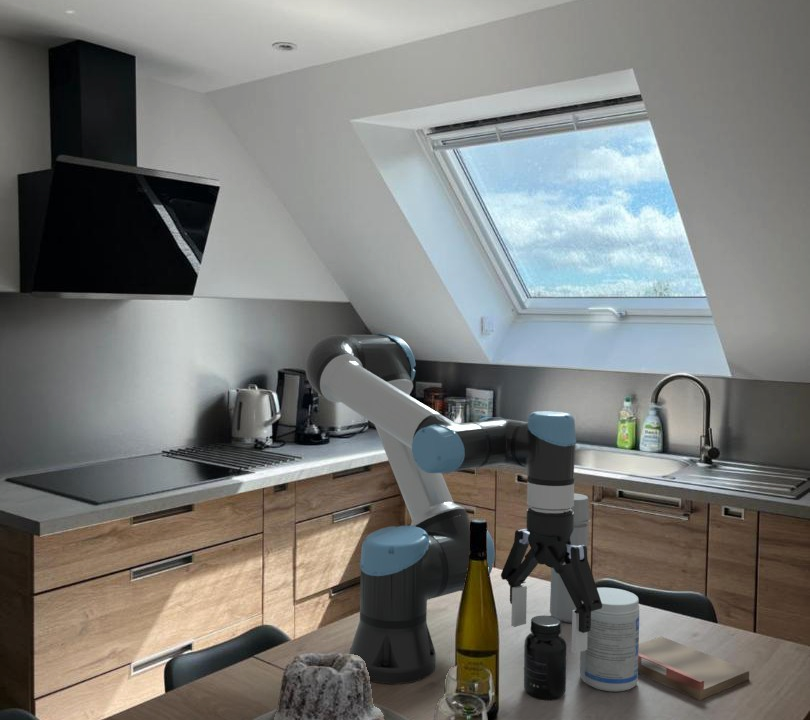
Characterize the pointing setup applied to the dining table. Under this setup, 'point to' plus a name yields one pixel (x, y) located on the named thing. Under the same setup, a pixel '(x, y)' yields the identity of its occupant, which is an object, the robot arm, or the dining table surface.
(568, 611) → the water bottle
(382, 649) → the robot arm
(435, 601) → the dining table surface
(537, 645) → the supplement bottle
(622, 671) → the supplement tub
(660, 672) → the beige hardcover book
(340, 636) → the dining table surface
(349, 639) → the dining table surface
